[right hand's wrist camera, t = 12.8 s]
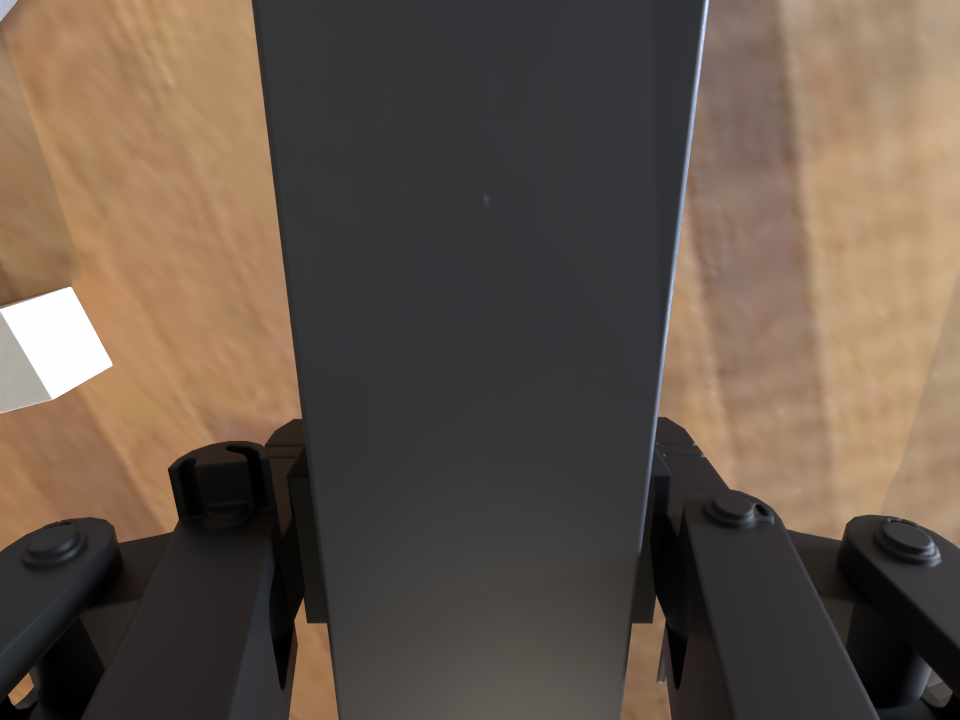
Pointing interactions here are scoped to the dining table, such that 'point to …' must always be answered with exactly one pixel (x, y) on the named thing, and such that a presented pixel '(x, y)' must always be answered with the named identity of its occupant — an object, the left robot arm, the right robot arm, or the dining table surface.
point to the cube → (46, 349)
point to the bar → (479, 331)
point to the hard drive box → (6, 7)
